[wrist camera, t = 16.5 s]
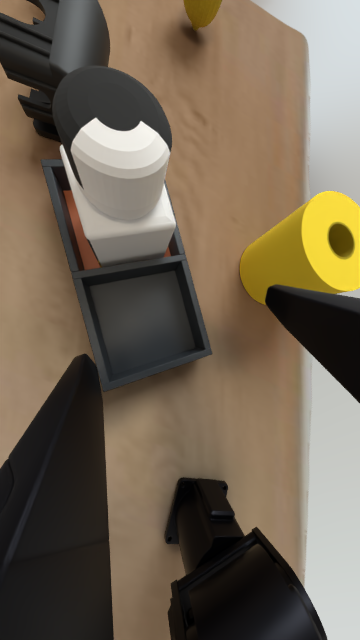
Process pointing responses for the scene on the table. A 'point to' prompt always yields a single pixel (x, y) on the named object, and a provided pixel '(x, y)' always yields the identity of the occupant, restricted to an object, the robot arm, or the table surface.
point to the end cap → (52, 52)
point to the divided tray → (130, 299)
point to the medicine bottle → (116, 163)
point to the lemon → (201, 11)
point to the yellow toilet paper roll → (307, 249)
